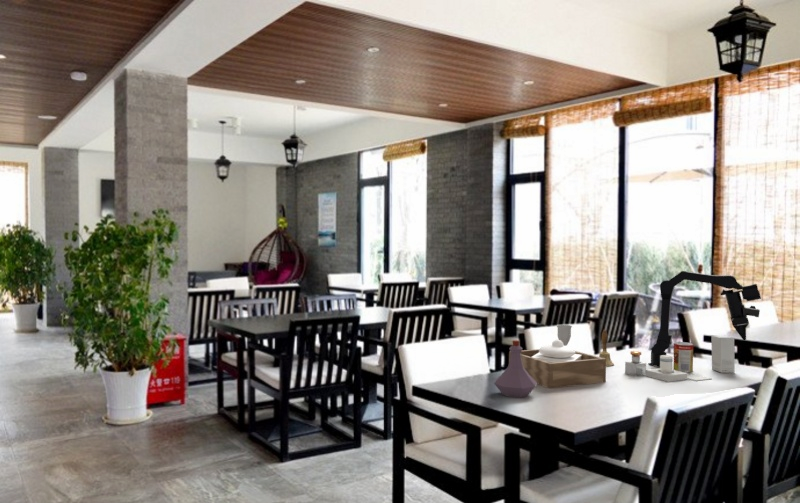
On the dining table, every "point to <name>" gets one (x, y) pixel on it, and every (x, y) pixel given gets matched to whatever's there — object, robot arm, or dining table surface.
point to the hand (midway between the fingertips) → (744, 338)
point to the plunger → (635, 356)
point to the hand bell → (605, 350)
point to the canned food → (683, 357)
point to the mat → (697, 377)
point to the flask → (515, 376)
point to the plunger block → (635, 368)
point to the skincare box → (723, 353)
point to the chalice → (564, 333)
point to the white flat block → (666, 375)
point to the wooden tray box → (564, 370)
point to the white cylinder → (666, 363)
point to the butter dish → (557, 353)
